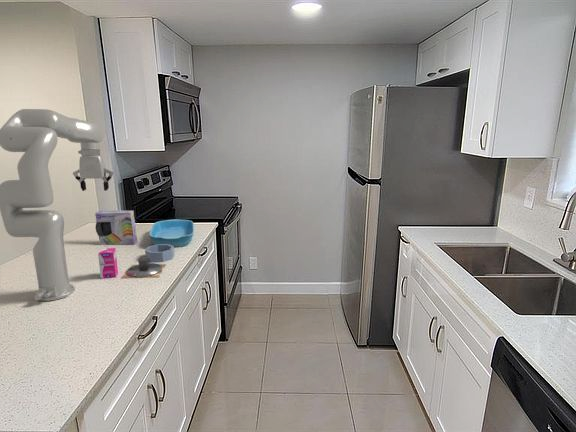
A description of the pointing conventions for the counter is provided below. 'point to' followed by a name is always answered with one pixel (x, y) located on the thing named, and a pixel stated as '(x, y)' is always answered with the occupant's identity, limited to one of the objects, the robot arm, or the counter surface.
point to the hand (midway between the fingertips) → (95, 190)
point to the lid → (144, 269)
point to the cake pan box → (116, 227)
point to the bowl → (160, 253)
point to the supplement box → (108, 263)
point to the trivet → (144, 277)
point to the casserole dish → (172, 232)
